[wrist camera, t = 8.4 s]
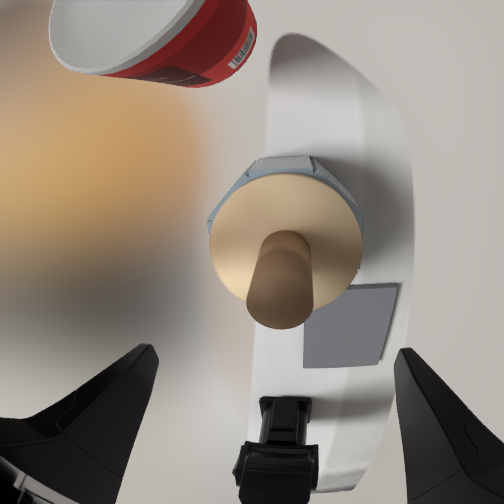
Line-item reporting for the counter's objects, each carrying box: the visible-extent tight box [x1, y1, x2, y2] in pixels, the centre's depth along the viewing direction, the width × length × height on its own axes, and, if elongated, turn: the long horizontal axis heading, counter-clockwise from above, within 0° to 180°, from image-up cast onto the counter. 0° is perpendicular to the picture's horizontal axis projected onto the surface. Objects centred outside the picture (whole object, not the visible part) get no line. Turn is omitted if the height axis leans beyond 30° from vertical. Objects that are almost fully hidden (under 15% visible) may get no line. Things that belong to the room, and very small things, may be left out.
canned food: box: [49, 0, 257, 88], centre depth 10 cm, size 8×8×11 cm
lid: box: [209, 172, 362, 329], centre depth 14 cm, size 9×9×6 cm
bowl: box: [207, 156, 363, 274], centre depth 18 cm, size 9×9×4 cm
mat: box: [303, 283, 398, 368], centre depth 24 cm, size 10×8×1 cm
